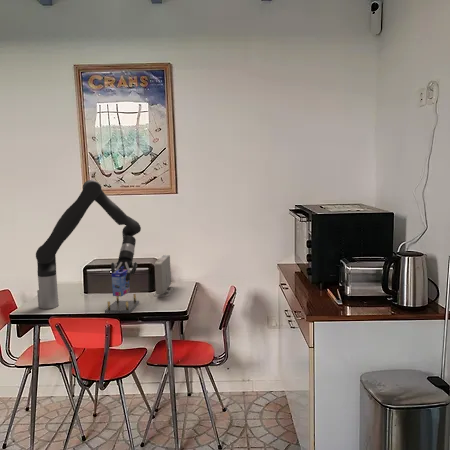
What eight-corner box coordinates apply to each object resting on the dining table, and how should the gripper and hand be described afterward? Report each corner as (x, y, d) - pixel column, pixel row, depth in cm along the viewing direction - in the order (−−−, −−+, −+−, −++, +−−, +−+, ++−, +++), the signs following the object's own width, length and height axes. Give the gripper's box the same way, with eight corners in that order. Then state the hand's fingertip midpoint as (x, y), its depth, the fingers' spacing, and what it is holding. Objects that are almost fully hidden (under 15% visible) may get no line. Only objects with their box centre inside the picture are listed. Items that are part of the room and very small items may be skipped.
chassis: (104, 313, 223) (104, 302, 222) (115, 303, 239) (115, 293, 239) (130, 313, 222) (129, 302, 221) (139, 303, 238) (138, 293, 238)
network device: (166, 298, 247) (165, 263, 245) (151, 298, 248) (149, 263, 245) (174, 286, 272) (173, 254, 270) (160, 286, 273) (159, 254, 271)
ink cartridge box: (122, 296, 224) (120, 268, 223) (112, 296, 226) (110, 268, 224) (130, 291, 234) (128, 264, 232) (121, 291, 235) (118, 264, 234)
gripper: (111, 249, 237) (105, 276, 227) (138, 249, 236) (133, 276, 226) (115, 257, 243) (109, 284, 233) (141, 257, 242) (136, 284, 232)
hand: (121, 280), depth 229 cm, fingers closed on ink cartridge box, 5 cm apart
